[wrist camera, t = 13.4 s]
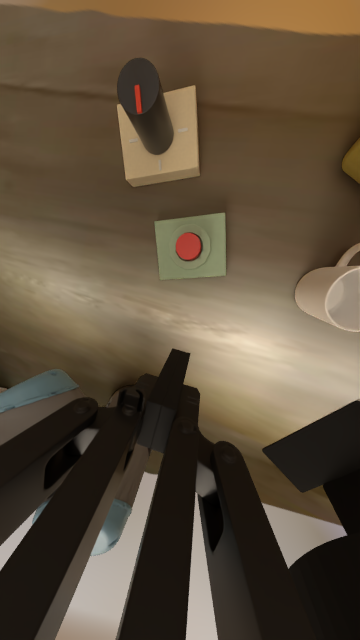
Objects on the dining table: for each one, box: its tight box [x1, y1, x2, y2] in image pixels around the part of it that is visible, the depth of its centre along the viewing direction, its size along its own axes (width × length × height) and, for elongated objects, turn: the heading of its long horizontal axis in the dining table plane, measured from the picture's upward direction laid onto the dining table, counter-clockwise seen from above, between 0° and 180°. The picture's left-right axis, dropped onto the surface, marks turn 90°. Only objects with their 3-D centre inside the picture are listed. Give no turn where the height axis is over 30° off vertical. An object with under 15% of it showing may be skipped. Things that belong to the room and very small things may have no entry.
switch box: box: [154, 213, 226, 280], centre depth 33 cm, size 12×10×4 cm
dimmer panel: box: [117, 85, 200, 187], centre depth 30 cm, size 12×10×3 cm
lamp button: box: [176, 233, 201, 260], centre depth 31 cm, size 4×4×2 cm
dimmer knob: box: [117, 58, 174, 155], centre depth 25 cm, size 5×5×8 cm
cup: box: [295, 243, 360, 332], centre depth 28 cm, size 8×12×10 cm
